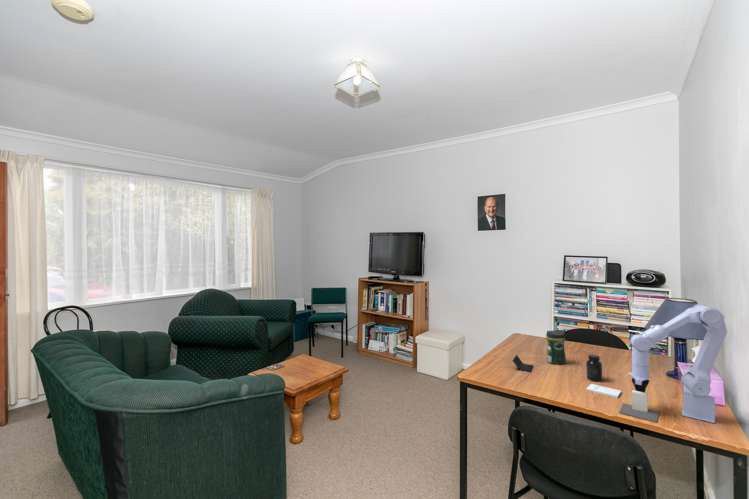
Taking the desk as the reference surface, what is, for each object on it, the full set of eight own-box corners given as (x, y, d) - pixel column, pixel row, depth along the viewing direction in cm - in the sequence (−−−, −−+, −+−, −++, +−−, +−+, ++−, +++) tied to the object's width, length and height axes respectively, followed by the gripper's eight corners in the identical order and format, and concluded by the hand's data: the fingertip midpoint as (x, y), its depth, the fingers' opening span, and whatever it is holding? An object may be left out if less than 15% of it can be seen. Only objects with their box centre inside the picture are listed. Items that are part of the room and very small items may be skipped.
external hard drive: (617, 399, 158) (586, 391, 166) (621, 393, 163) (591, 386, 172) (617, 395, 158) (586, 388, 166) (621, 390, 163) (591, 383, 172)
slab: (647, 410, 145) (647, 393, 145) (647, 412, 143) (647, 395, 143) (632, 406, 148) (632, 389, 148) (632, 408, 146) (632, 391, 146)
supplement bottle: (592, 376, 184) (592, 353, 184) (605, 380, 178) (605, 356, 178) (583, 378, 182) (583, 354, 181) (595, 382, 175) (595, 358, 175)
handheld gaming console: (534, 370, 190) (522, 353, 193) (523, 377, 191) (511, 360, 195) (534, 366, 200) (522, 350, 204) (523, 373, 202) (512, 357, 205)
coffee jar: (560, 360, 209) (560, 329, 209) (567, 364, 201) (567, 332, 201) (544, 360, 209) (544, 329, 209) (550, 365, 202) (550, 332, 201)
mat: (658, 412, 144) (658, 411, 144) (656, 422, 136) (656, 421, 136) (623, 403, 152) (623, 403, 152) (619, 413, 144) (619, 412, 144)
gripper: (630, 358, 156) (631, 388, 156) (626, 366, 145) (626, 399, 145) (651, 361, 151) (651, 393, 151) (647, 370, 140) (647, 404, 140)
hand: (640, 396), depth 148 cm, fingers closed
